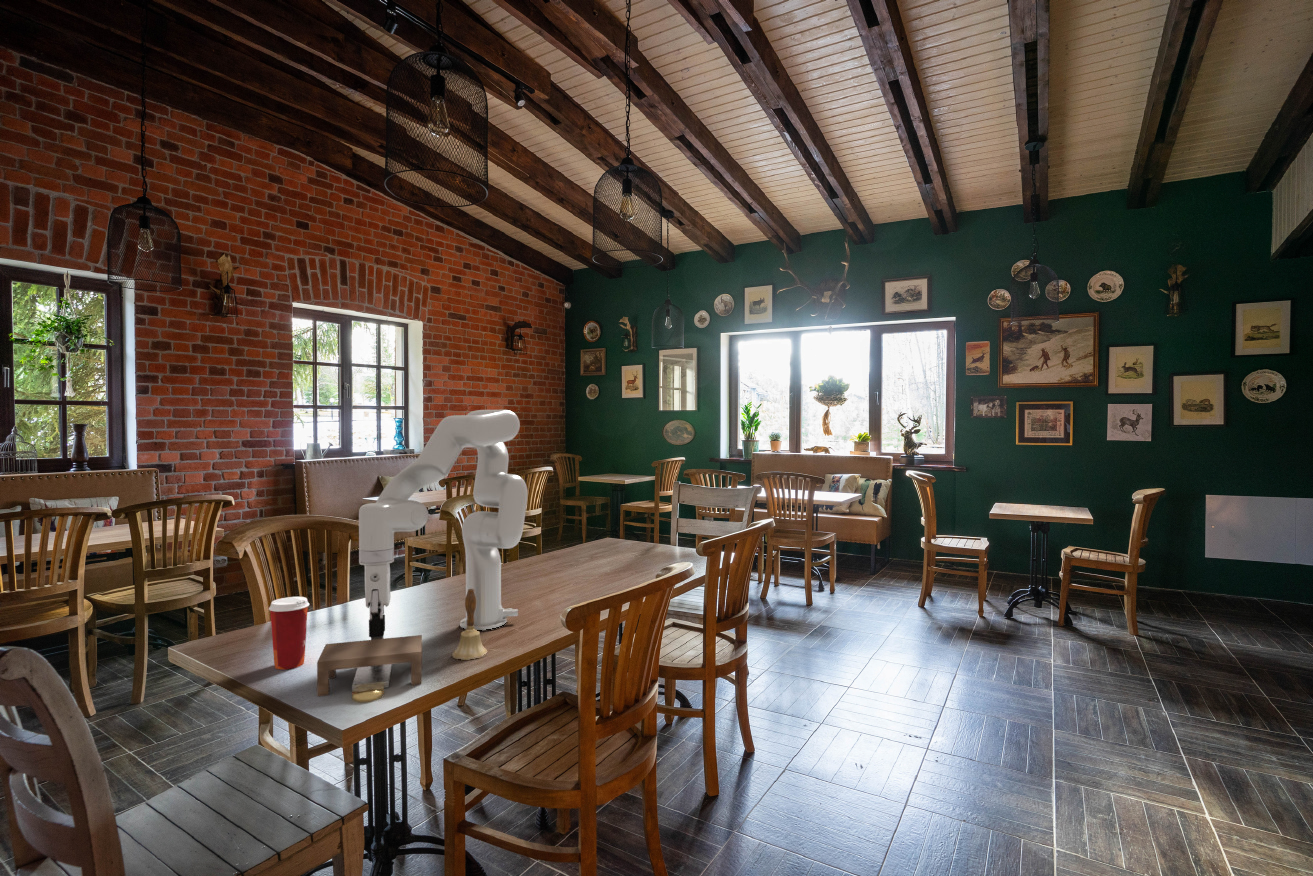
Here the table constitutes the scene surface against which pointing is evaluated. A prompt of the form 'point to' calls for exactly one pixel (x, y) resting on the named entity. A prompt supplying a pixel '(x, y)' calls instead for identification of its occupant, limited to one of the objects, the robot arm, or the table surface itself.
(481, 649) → the hand bell
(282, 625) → the coffee cup
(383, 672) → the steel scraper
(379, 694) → the brass puck
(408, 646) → the walnut bench
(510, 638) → the table surface
